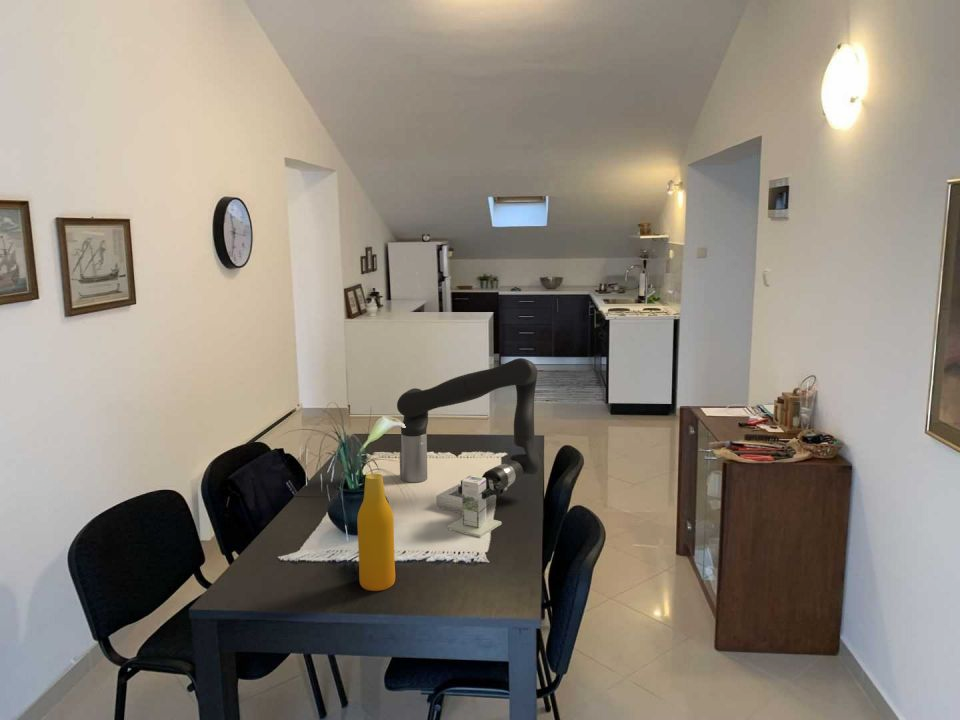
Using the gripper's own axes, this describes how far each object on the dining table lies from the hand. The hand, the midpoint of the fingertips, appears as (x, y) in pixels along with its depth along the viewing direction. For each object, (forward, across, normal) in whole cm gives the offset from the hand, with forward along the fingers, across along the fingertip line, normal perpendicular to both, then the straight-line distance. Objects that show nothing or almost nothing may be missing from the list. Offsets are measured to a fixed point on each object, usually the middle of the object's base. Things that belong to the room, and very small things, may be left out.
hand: (470, 493), depth 222 cm
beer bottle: (+42, -1, +12) cm, 44 cm away
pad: (-2, 0, +11) cm, 11 cm away
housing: (-15, -13, +11) cm, 23 cm away
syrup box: (-2, 0, +11) cm, 11 cm away
